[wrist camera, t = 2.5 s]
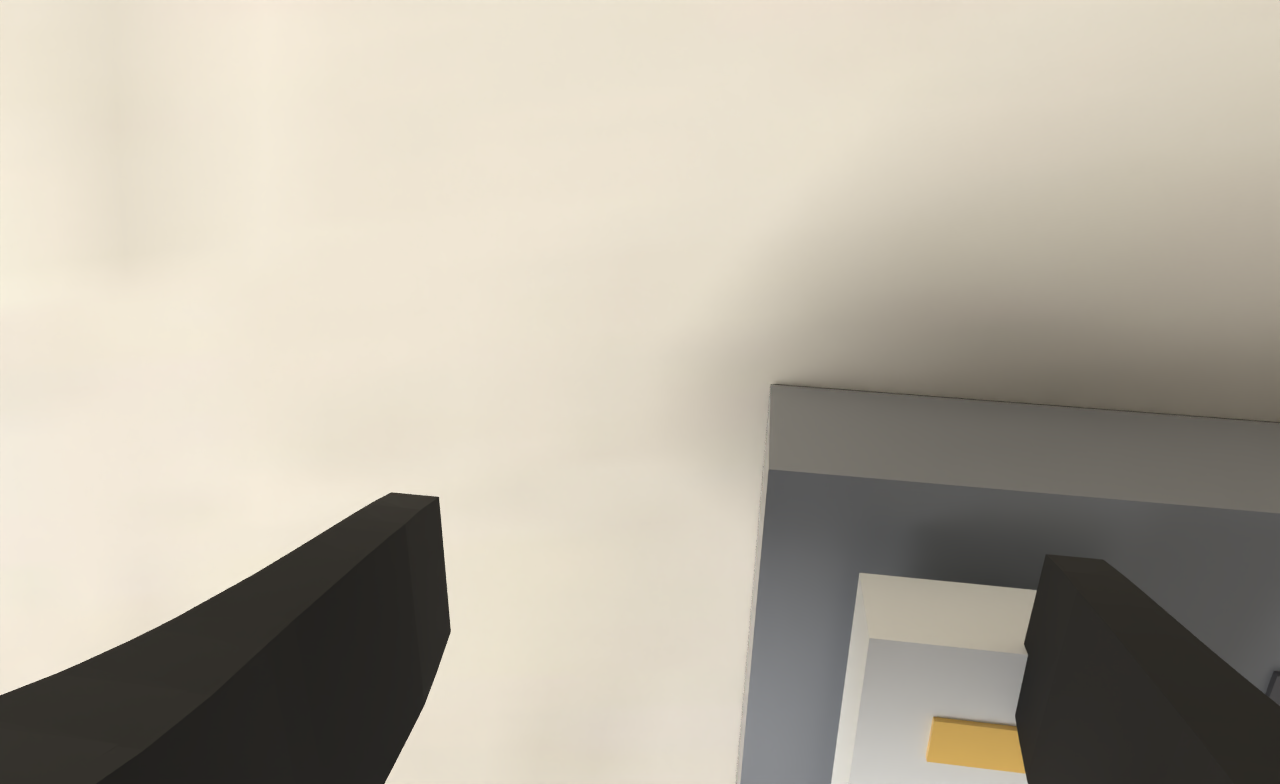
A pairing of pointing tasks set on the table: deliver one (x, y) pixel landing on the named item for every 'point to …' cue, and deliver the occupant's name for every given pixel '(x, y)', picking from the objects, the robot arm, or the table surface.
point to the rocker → (933, 683)
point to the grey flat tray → (991, 533)
